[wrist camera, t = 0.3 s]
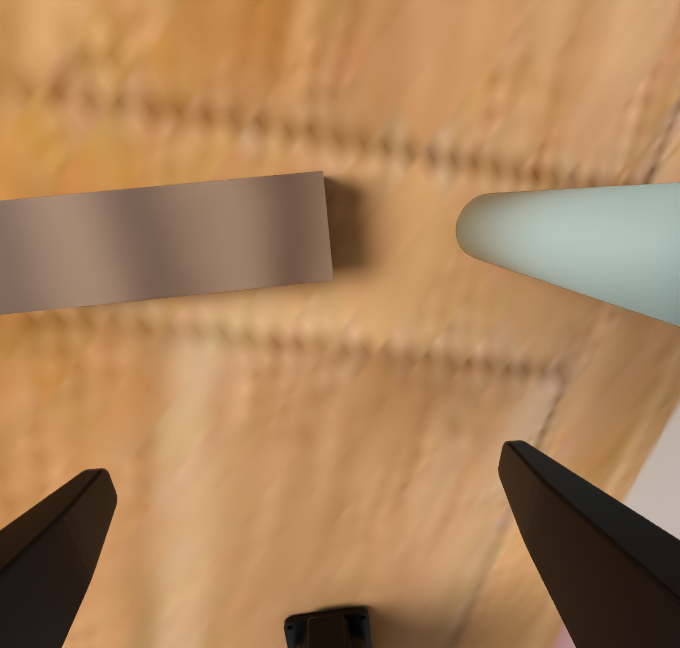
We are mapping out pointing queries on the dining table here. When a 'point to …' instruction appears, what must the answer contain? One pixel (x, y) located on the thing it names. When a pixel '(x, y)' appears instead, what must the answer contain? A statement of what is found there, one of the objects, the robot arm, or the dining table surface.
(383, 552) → the dining table surface
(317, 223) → the brown wooden block
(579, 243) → the post
